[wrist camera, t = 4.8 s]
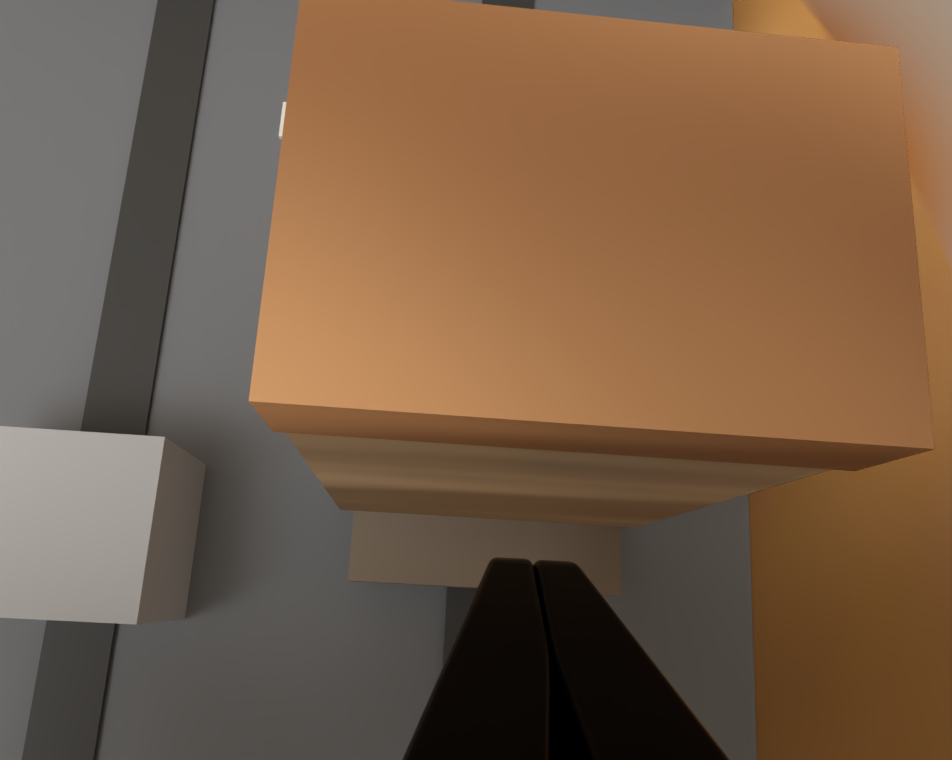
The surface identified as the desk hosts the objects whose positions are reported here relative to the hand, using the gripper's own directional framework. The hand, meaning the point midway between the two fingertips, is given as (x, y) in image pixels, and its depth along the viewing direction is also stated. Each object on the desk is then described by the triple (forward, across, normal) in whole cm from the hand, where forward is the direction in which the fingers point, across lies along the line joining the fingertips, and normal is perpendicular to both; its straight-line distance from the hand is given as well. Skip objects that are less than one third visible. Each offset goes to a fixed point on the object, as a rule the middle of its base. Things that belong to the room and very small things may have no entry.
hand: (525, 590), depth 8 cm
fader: (+5, 0, +2) cm, 5 cm away
